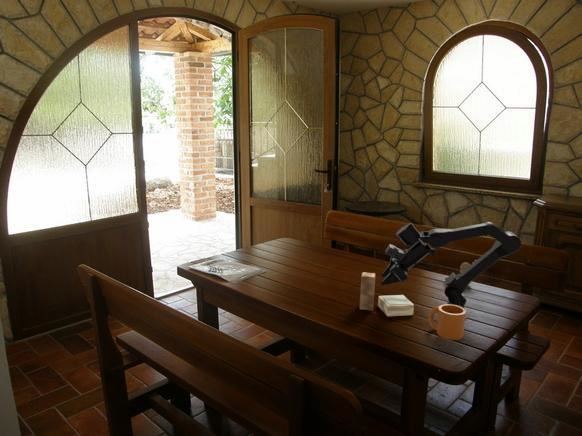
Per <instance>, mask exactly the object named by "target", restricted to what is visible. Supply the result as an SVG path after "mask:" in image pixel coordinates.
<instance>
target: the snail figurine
mask: <svg viewBox="0 0 582 436" xmlns="http://www.w3.org/2000/svg"><path fill="white" fill-rule="evenodd" d="M476 260H477V259H475V260H474V262H475V261H476ZM474 262H472V264H473V263H474ZM470 265H471V264H470V263H468V262H462V263H461V264H460V271H459V272H460V273H462V272H463V271H464V270H465V269H467V268H468V267H469V266H470ZM472 281H473V280H472ZM472 281H471V282H470V283H469V284H468V286H469V285H471V283H473V282H472Z"/></svg>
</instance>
